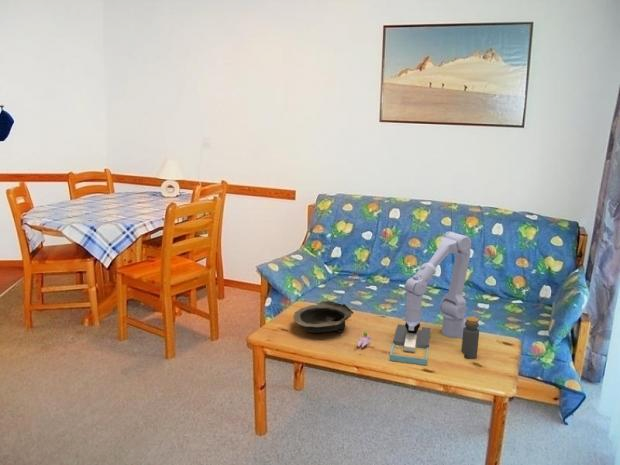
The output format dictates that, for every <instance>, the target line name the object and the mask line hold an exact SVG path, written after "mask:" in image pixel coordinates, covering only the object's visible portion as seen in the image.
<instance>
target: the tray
mask: <svg viewBox="0 0 620 465" xmlns="http://www.w3.org/2000/svg"><path fill="white" fill-rule="evenodd" d="M391 345H392V346H391V350H390V353H389V362H395V363H401V364H410V365H417V366H426V367H427V366H428V356H429V349H430V347H429V348H428V347H427V349H426V354H425V358H423V357H415V356H408V355H400V354H399V355H398V354H393V353H394V349H395V346H396V345H395V343H392V344H391Z"/></svg>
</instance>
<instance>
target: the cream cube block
mask: <svg viewBox="0 0 620 465" xmlns="http://www.w3.org/2000/svg"><path fill="white" fill-rule="evenodd" d="M406 338H408V339H416V342H417V334H414V333H406Z"/></svg>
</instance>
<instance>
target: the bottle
mask: <svg viewBox="0 0 620 465" xmlns="http://www.w3.org/2000/svg"><path fill="white" fill-rule="evenodd" d="M465 318H466V322H465V326H466V327H465V328H464V329H463V338H461V339H462V340H461V353H462V354H463V357H464V358H466V359H471V360H474V359H476V358H477V357H478V351H479V336H480V329H479V327H480V324H479V320H480V319H479V318H478V317H476V316H467V317H465Z"/></svg>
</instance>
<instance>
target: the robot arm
mask: <svg viewBox="0 0 620 465" xmlns="http://www.w3.org/2000/svg"><path fill="white" fill-rule="evenodd" d="M471 246H472V240H471V239H470V237H469V236H468V235H463V234H460V233H456V232H454V231H450V230H449V231H446V232H445V234H443V236H442V237H441V239H440V245H439V246H438V248H437V249H436V250H435V251H434V254H433V255H432V257H431V258H430V260H428V262H424V263H423V264H421V266H420V267H419V269H418V270H417V272H415V274H414V275H413V276H412V277H411V278H408V279H407V280H406V281H405V284H404V290H405V291H406V294H405V295H406V309H405V316H403V317H402V321H404V322H405V323H404V325H405V327H406V329H407V332H408V333H414V334H416V333H417V331H418V330H420V326H421V322H422V319H421V316H422V304H423V303H422V302H423V301H422V300H423V294H424V293H426V291H427V286H428V284H429V282H430V281H431V279H432V278H433V277H434V276H435V274H436V272H437V271H436V268H437V267H438V266H439V264H441V262H442V261H443V260H444V259H445V258H446V257H447V256H448V255H449V254H454V255H455V258H454V263H453V268H452V272H451V278H450V283H449V289H448V292H447V293H446V294H444V295H443V296H442V300H441V302H440V304H439V310H440V312H441V315H442V326H441V334H442V336H445V337H448V338H456V339H457V338H459V339H462V338H463V329H464V328H465V327H466V326H465V322H466V317H465V316H466V313H467V305H466V304H467V301H466V299H465V298H464V297H463V292H464V288H465V283H466V278H467V272H468V268H469V263H470V256H471Z"/></svg>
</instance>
